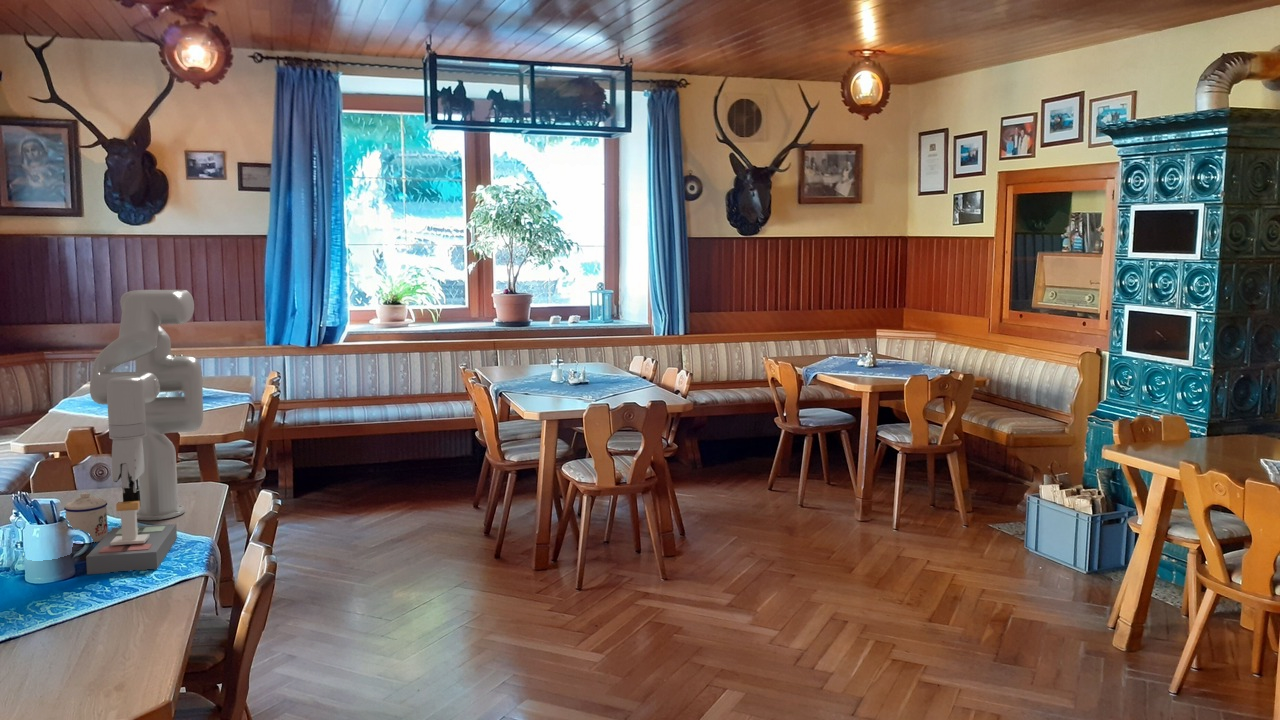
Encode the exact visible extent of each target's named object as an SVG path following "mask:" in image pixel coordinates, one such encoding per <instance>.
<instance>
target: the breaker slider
mask: <svg viewBox="0 0 1280 720" xmlns="http://www.w3.org/2000/svg"><path fill="white" fill-rule="evenodd" d="M115 505H116V506H115V507H116V512H120V524H121V526H120V528H122V536H116V537H115V538H114V539H113V540H112V541H111V542H110V545H123V544H138V543H145V542H146V541H147V539H148V538H149V537H150V534H142V535H138V529H137V526H138V519H137V511H136V510H138V509H139V508H140V501H127V502H123V501H118V502H117V503H116V504H115Z"/></svg>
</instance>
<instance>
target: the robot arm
mask: <svg viewBox="0 0 1280 720" xmlns="http://www.w3.org/2000/svg"><path fill="white" fill-rule="evenodd" d="M193 297H194V296H192V293H190V292H189V291H188V290H187V289H137V290H135V289H134V290H131V291H127V292H125V293H123V294H122V295H121V297H120V309H121V316H120V317H121V318H120V325H119V331H118V332H119V333H118V337H117V338H116V339H115V340H113V341H112V342H110V343H109V344H108V345H107V346H106V347H104V348H103V349H102V350H100V352H99V354H98V355H96V357H95V359H94V362H93V364H92V367H91V368H92V369H91V376H90V380H89V394H90V397H91V400H92V401H93V402H94V403H96V404H98V405H103V406H106V405H107V415H108V416H107V419H108V422H107V423H108V434H109V437H108V438H109V439H110V440H112V445H111V481H112V482H113V484H115V483H117V482H119V481H121V489H122V502H127V501H140V508H139V509H138V510H136V511H137V521H160V520H167V519H172V518H174V517H178V516H181V515H183V514H184V513H185V512H186V507H185V506H184V505H182V504H180V503H179V494H178V493H179V492H178V472H177V453H176V447H175V445H174V444H173V441H171V440H170V439H169V438H168V437H167V435H165V434H169V433H189V432H191V433H192V432H196V431H198V430H200V429H201V428H202V425H203V421H204V399H203V398H204V394H203V393H204V392H203V390H204V389H203V388H204V387H203V371H202V366H201V364H200V361H199V360H198V359H197V358H196V357H194V356H188V355H187V356H186V355H181V356H178V355H177V356H173V355H172V349H171V348H172V346H171V345H172V342H171V341H172V340H171V337H170V336H169V334H168V332H166V330H165V329H164V328H163V326H160V325H183V324H187V323H188V322H190V320H191V319H192V318H193V315H194V313H195V302H194V298H193ZM131 361H135V363H134V364H135V367H134V368H135V369H134V370H135V371H117V372H114V371H113V370H114V369H116V368H117V367H119V366H121V365H123V364H125V363H129V362H131ZM112 371H113V372H112ZM174 392H175V393H177V392H178V393H179V392H180V393H182V394H183V396H159V394H160V393H174Z"/></svg>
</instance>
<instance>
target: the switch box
mask: <svg viewBox="0 0 1280 720" xmlns="http://www.w3.org/2000/svg"><path fill="white" fill-rule="evenodd" d="M137 529H138V535H142V534H150V537H149V538H148V539H147V541H146V542H145V543H138V544H123V545H110V542H111V541H112V540H113V539H114V538H115V537H116V536H122V528H121V527H112V528H111V529H110V530H109V531H108V534H107V535H106V536H105V537H104V538H103V539H102V540H101V541H99V542H97V545H95V546H94V548H93V549H92V550H91V551H90V552H89V553H88V554H87V555H86V557H85V560H86V561H85V563H86V575H97V574H99V575H100V574H111V573H110V572H114V573H119V572H118V571H128V572H134V571H133V570H141V571H148V570H147V569H154V570H158V569H159V567H160V566H161V564H162V563H163V561H164V560H165V558H166V557H167V556H166V555H168V554H169V553H168V552H170V551H171V550H170V549H172V548H173V547H172V545H173V544H174V542H175V541H176V539H177V540H178V533H177V532H178V531H177V523H172V524H171V523H170V524H169V523H168V524H159V525H158V524H156V525H137ZM176 542H177V541H176ZM176 542H175V543H176ZM174 545H175V544H174ZM174 545H173V546H174ZM171 547H172V548H171ZM169 550H170V551H169ZM167 553H168V554H167ZM165 556H166V557H165ZM163 559H164V560H163ZM161 562H162V563H161ZM159 565H160V566H159ZM157 568H158V569H157ZM130 570H132V571H130Z"/></svg>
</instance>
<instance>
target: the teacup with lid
mask: <svg viewBox="0 0 1280 720" xmlns="http://www.w3.org/2000/svg"><path fill="white" fill-rule="evenodd" d="M107 505H108V502H107V501H106V500H105V499H104V498H100V497H99V498H98V497H96V496H92V495H91V493H90V492H88V491H87V492H86V491H85V492H81V493H80V496H79V497H77V498H75V499H74V500H73V501H69V502H67V503H66V504H65V505H64V511H65V520H66V519H67V520H68V521H69V523H70V525H71V526H72V528H74V529H80V530H83V531H85V532H87V533H89V534H90V536H91V537H92V539H93V542H94V543H93V544H95V542H96V543H99V542H100V541H101V540H102V539H103V538H104V537H105V536H106V535H107V534H108V533H109V527H108V510H107Z"/></svg>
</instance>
